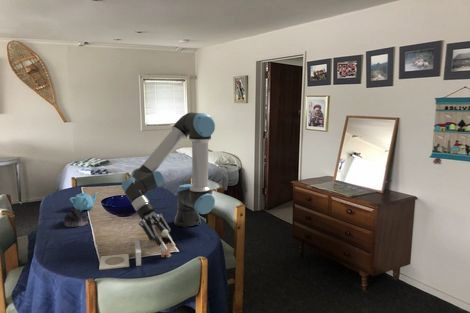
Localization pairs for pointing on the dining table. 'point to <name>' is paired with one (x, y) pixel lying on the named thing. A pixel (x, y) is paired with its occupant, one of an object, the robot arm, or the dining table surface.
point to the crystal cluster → (75, 219)
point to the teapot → (83, 201)
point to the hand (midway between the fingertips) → (169, 248)
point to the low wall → (137, 252)
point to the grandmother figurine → (166, 243)
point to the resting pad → (114, 261)
